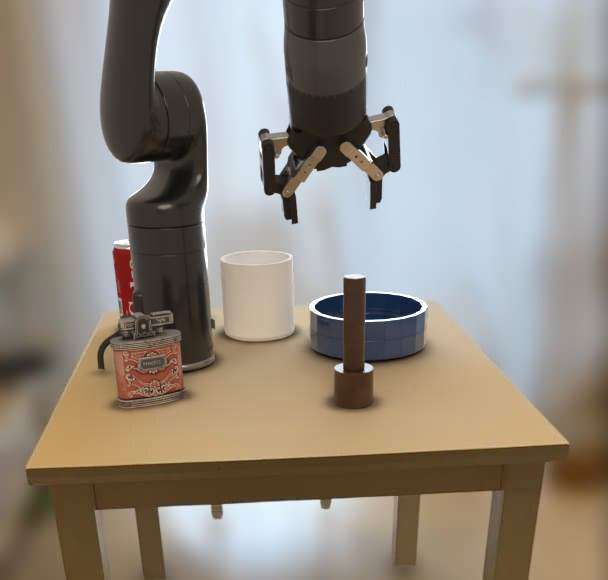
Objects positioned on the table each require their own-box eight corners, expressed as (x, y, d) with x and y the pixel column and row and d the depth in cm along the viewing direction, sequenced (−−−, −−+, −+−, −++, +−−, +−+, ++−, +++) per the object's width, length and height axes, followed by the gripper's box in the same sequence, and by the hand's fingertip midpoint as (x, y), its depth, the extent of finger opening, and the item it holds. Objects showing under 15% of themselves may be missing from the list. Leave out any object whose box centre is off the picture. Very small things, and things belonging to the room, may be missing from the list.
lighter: (123, 410, 100) (112, 322, 95) (114, 401, 102) (103, 314, 97) (190, 398, 103) (183, 311, 98) (180, 389, 105) (172, 305, 101)
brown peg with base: (335, 409, 99) (335, 281, 92) (332, 396, 103) (332, 272, 96) (375, 408, 99) (377, 280, 92) (370, 394, 103) (372, 271, 96)
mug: (308, 333, 125) (307, 258, 120) (246, 346, 121) (242, 268, 116) (263, 315, 134) (260, 244, 130) (204, 325, 130) (198, 253, 125)
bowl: (313, 366, 112) (313, 323, 110) (306, 332, 126) (306, 293, 123) (434, 362, 113) (436, 319, 110) (415, 329, 126) (416, 290, 124)
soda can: (160, 321, 132) (152, 237, 127) (152, 331, 128) (143, 244, 122) (126, 321, 133) (117, 237, 127) (117, 330, 128) (106, 244, 123)
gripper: (391, 31, 84) (388, 177, 98) (243, 57, 83) (261, 201, 97) (412, 77, 80) (405, 223, 94) (256, 105, 79) (273, 247, 93)
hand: (331, 211), depth 96 cm, fingers open, 8 cm apart
